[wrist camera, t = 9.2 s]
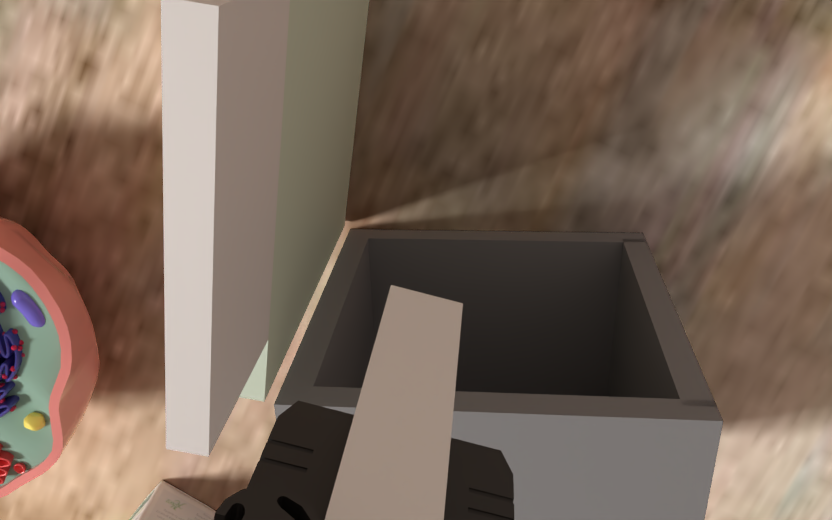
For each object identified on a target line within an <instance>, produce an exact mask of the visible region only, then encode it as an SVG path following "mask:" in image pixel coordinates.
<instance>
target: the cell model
mask: <svg viewBox="0 0 832 520" xmlns="http://www.w3.org/2000/svg"><path fill="white" fill-rule="evenodd" d="M99 366H100V361H99V351H98V346H97V341H96V336H95V331H94V327H93V323H92V321H91V318H90V316H89V313H88V311H87V308H86V306H85V303H84V301H83V299H82V297H81V295H80V292H79V290H78V288H77V286H76V283H75V281H74V279H73V278H72V276H71V275H70V273H69V272H68V271H67V270H66V269H65V267H64V266H63V265H62V264H61V263H60V262H59V261H58V260H56V259H55V258H54V257H53V256H52V255H51V254H50V253H49V252H48V251H47V250H46V249H45V248H44V247H43V246H42V244H41V243H40V242H39V241H38V240H37V239H36V238H35V237H34V236H33V235H32V234H31V233H30V232H29V231H28V230H26V229H25V228H24V227H23V226H21V225H20V224H18V223H16V222H15V221H12V220H8V219H5V218H2V217H0V498H1V497H3V496H6V495H8V494H9V493H11V492H13V491H14V490H16V489H17V488H19V487H20V486H22V485H24V484H25V483H27V482H29V481H31V480H33V479H34V478H36V477H38V476H40V475H41V474H43V473H44V472H46V471H47V470H48V469H49V468H50V467H51V466H52V465H53V464H54V463H55V462H56V461H57V460H58V458H59V457H60V455H61V453H62V452H63V450H64V449H65V447H66V445H67V444H68V442H69V441H70V439H71V438H72V436H73V434H74V433H75V431H76V430H77V428H78V426H79V424H80V422H81V420H82V419H83V416H84V414H85V411H86V409H87V407H88V404H89V402H90V399H91V397H92V394H93V391H94V388H95V385H96V382H97V378H98V374H99Z"/></svg>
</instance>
